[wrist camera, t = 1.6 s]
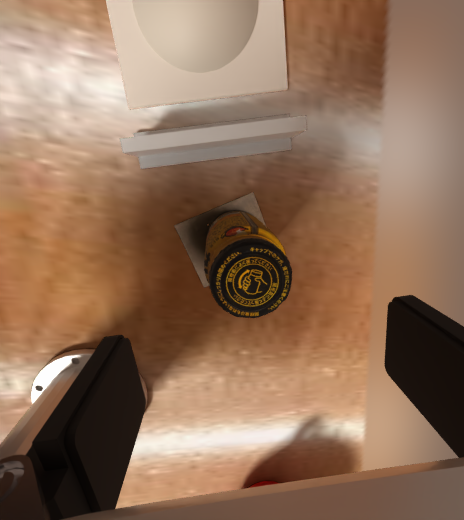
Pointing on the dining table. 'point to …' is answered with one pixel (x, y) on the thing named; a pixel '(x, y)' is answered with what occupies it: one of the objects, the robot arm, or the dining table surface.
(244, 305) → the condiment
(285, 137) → the low wall
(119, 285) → the dining table surface
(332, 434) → the dining table surface
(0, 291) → the dining table surface
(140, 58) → the pad
